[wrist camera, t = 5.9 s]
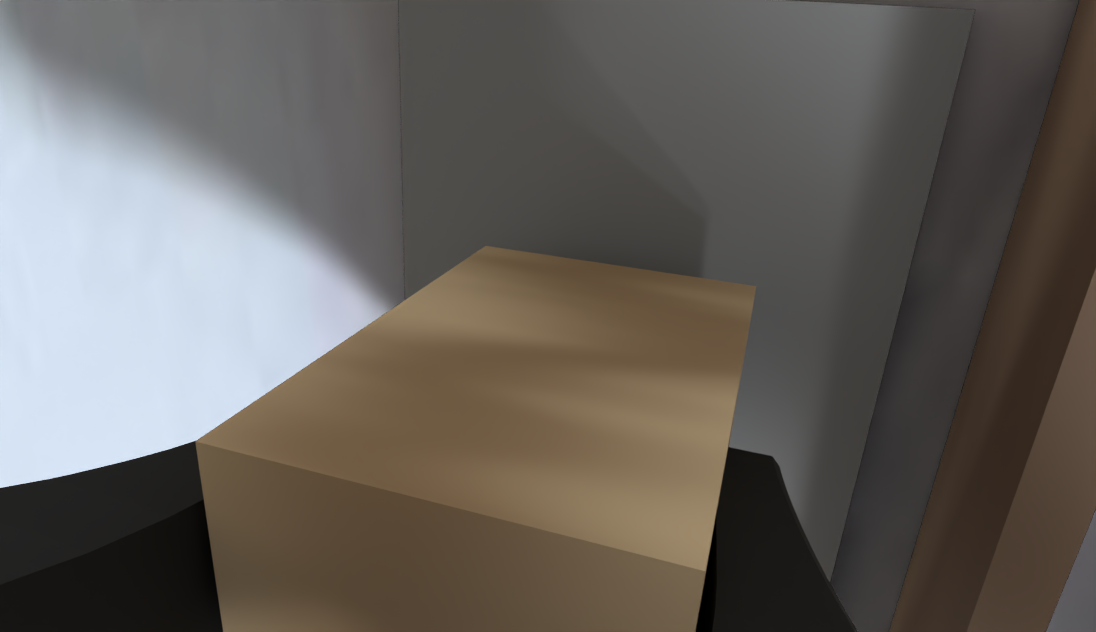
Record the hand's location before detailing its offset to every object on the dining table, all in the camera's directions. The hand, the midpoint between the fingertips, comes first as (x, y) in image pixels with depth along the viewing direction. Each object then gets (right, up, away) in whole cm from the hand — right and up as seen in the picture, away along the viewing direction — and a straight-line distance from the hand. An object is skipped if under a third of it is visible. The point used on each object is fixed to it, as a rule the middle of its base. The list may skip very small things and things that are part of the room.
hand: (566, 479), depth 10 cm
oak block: (+1, +1, +2) cm, 2 cm away
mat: (+1, +1, +3) cm, 3 cm away
